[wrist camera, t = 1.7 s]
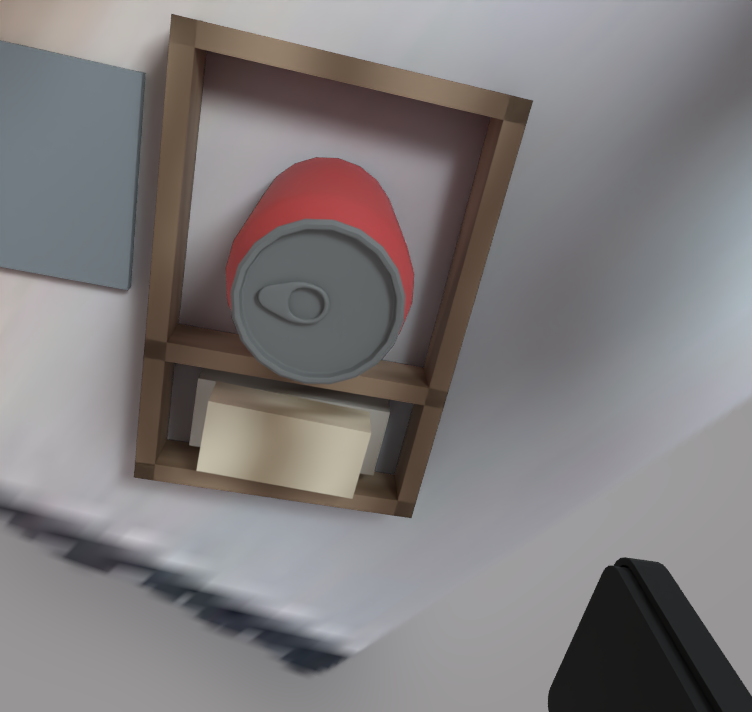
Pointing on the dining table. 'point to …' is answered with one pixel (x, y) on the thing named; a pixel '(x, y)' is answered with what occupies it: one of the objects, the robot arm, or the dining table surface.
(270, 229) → the beer can
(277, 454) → the offcut upper
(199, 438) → the offcut lower
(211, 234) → the dining table surface
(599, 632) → the robot arm
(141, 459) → the slot rack
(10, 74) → the slate pad
